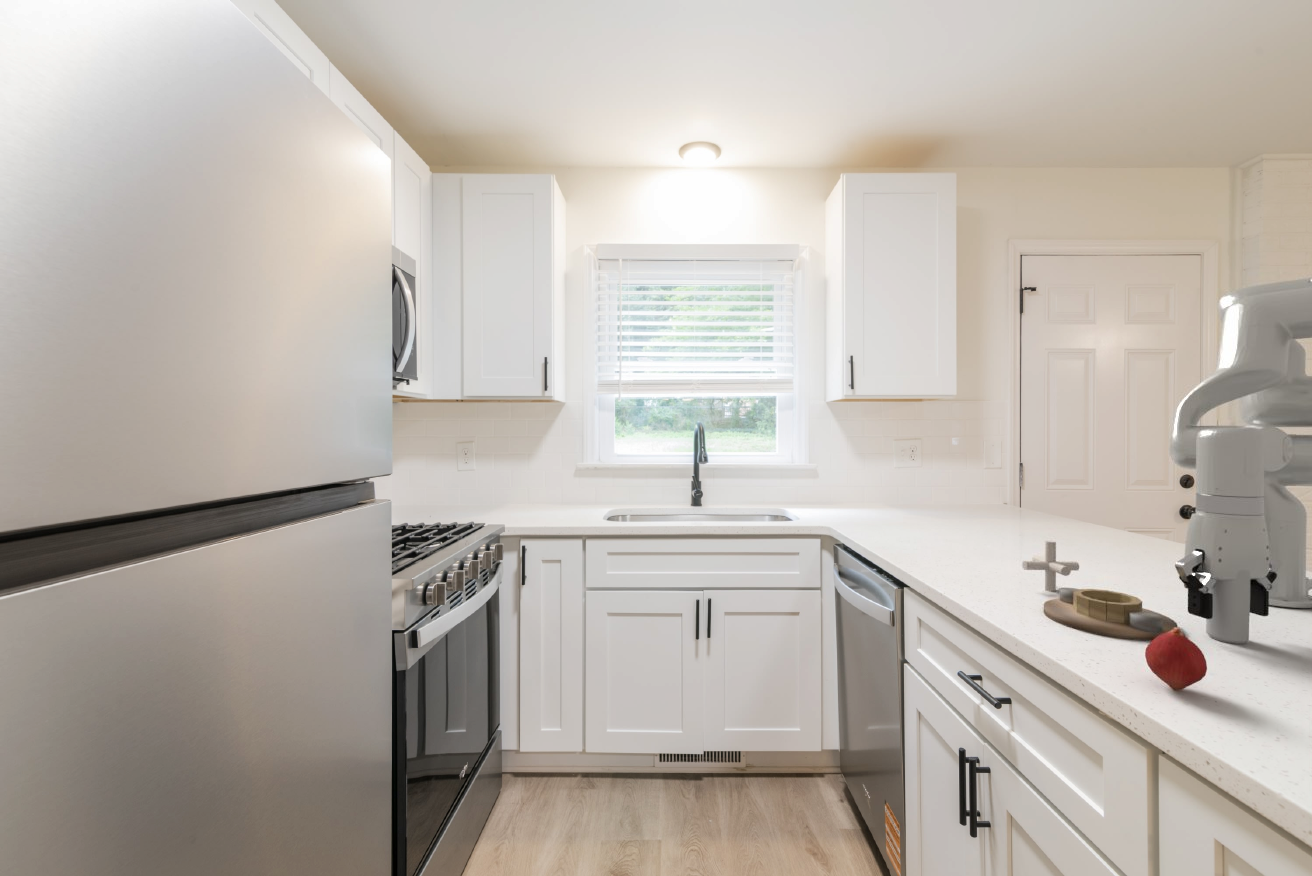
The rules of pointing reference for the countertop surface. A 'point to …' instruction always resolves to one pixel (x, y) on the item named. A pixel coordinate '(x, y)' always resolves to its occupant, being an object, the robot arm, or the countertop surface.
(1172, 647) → the onion
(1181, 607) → the countertop surface
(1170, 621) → the carrier
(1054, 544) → the pipe connector
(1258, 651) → the countertop surface
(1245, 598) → the beverage can
